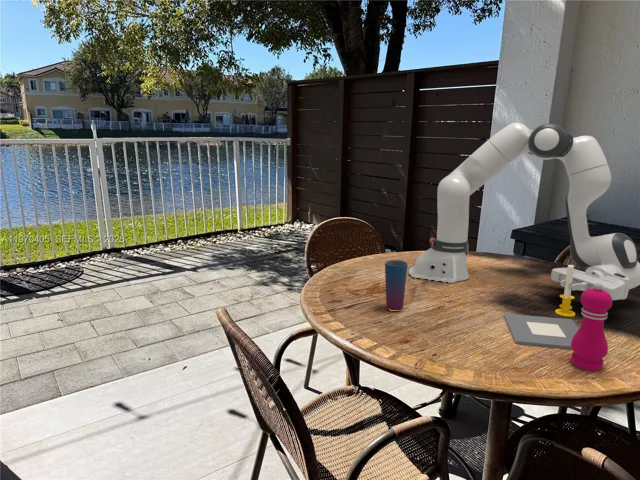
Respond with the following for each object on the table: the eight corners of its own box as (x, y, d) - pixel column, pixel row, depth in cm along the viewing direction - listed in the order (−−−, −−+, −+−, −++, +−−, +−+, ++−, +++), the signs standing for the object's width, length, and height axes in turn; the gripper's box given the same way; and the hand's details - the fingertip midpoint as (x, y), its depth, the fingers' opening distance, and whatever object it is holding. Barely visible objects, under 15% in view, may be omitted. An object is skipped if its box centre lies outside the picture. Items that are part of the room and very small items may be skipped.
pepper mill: (561, 357, 101) (572, 278, 97) (590, 355, 102) (602, 277, 97) (582, 373, 94) (595, 288, 90) (612, 371, 95) (627, 287, 90)
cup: (405, 314, 127) (407, 266, 124) (382, 312, 128) (384, 265, 125) (405, 305, 134) (407, 260, 130) (384, 304, 135) (385, 259, 131)
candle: (568, 318, 123) (574, 267, 120) (551, 312, 128) (557, 262, 124) (578, 315, 125) (585, 264, 122) (562, 309, 130) (568, 260, 127)
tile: (515, 343, 108) (516, 340, 108) (503, 316, 125) (504, 313, 125) (594, 351, 104) (595, 348, 104) (571, 321, 121) (571, 318, 121)
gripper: (570, 261, 138) (538, 265, 133) (635, 280, 119) (601, 286, 114) (568, 279, 139) (536, 284, 134) (632, 301, 120) (597, 308, 116)
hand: (566, 285), depth 124 cm, fingers closed on candle
